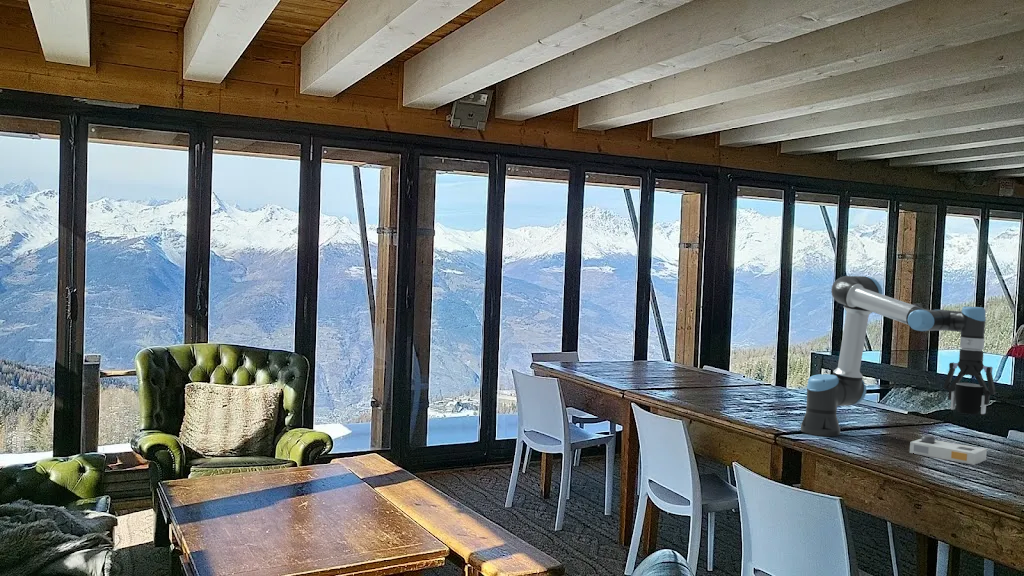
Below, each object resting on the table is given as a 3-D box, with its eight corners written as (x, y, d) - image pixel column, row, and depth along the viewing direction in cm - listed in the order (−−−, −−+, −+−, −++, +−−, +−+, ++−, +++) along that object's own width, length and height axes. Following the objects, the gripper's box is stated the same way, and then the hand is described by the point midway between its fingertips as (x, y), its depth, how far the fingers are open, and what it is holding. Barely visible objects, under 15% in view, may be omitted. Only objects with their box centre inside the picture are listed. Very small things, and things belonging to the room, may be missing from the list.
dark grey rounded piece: (919, 444, 315) (919, 436, 315) (923, 442, 318) (924, 434, 318) (931, 446, 312) (932, 438, 312) (936, 445, 315) (936, 437, 315)
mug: (987, 415, 300) (989, 387, 299) (961, 414, 300) (963, 386, 299) (968, 409, 312) (970, 382, 311) (944, 408, 312) (946, 381, 311)
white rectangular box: (909, 452, 313) (909, 442, 313) (922, 448, 322) (923, 437, 322) (973, 465, 297) (974, 453, 297) (986, 459, 307) (986, 448, 306)
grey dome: (956, 456, 306) (957, 448, 305) (960, 455, 309) (961, 447, 309) (969, 459, 302) (970, 451, 302) (973, 457, 306) (974, 449, 305)
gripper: (935, 346, 310) (931, 407, 310) (1002, 353, 294) (998, 417, 294) (942, 345, 315) (939, 405, 316) (1009, 352, 299) (1005, 415, 300)
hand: (967, 411), depth 305 cm, fingers closed on mug, 9 cm apart
